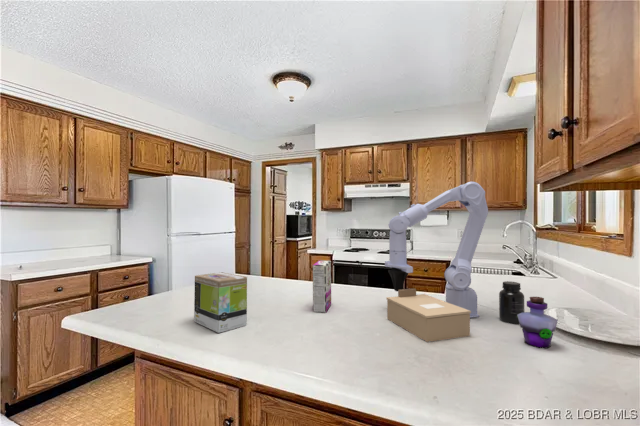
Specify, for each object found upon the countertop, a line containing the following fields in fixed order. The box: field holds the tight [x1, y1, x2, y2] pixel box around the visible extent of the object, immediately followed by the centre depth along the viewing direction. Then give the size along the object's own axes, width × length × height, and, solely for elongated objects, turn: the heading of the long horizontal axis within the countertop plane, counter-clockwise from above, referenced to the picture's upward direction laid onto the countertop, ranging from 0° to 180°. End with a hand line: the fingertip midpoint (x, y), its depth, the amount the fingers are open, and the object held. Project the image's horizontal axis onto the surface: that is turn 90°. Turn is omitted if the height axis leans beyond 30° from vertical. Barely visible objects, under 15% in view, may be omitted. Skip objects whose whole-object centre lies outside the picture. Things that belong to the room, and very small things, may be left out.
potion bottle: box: [517, 296, 559, 350], centre depth 81 cm, size 9×9×12 cm
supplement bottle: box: [498, 280, 525, 325], centre depth 99 cm, size 7×7×12 cm
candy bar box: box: [311, 260, 332, 314], centre depth 114 cm, size 11×5×16 cm, turn 168°
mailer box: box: [386, 299, 471, 343], centre depth 94 cm, size 14×20×6 cm
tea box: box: [193, 271, 248, 334], centre depth 97 cm, size 15×10×15 cm, turn 47°
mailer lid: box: [385, 288, 471, 318], centre depth 94 cm, size 14×20×3 cm
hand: (398, 290), depth 108 cm, fingers closed
